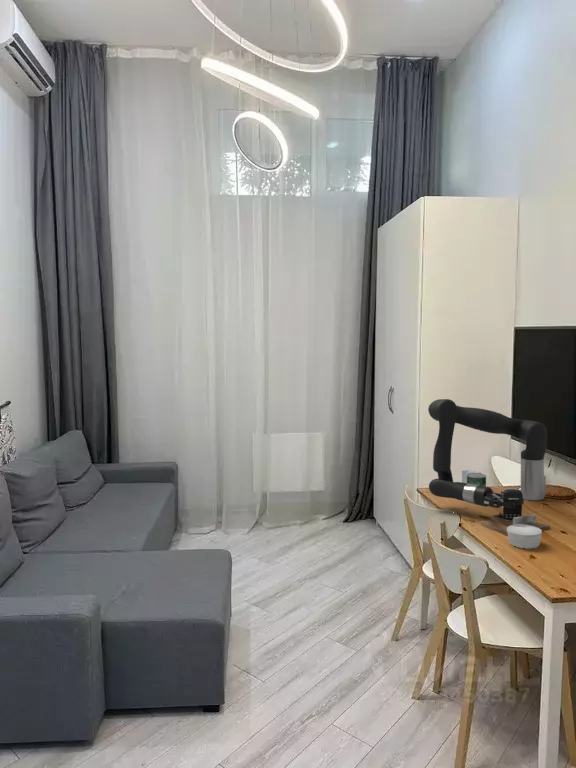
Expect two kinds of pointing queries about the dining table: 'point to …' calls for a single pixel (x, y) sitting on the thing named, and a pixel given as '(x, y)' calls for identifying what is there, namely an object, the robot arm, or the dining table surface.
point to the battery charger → (517, 498)
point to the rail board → (512, 523)
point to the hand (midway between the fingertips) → (518, 503)
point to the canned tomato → (476, 479)
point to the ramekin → (524, 536)
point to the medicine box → (464, 474)
